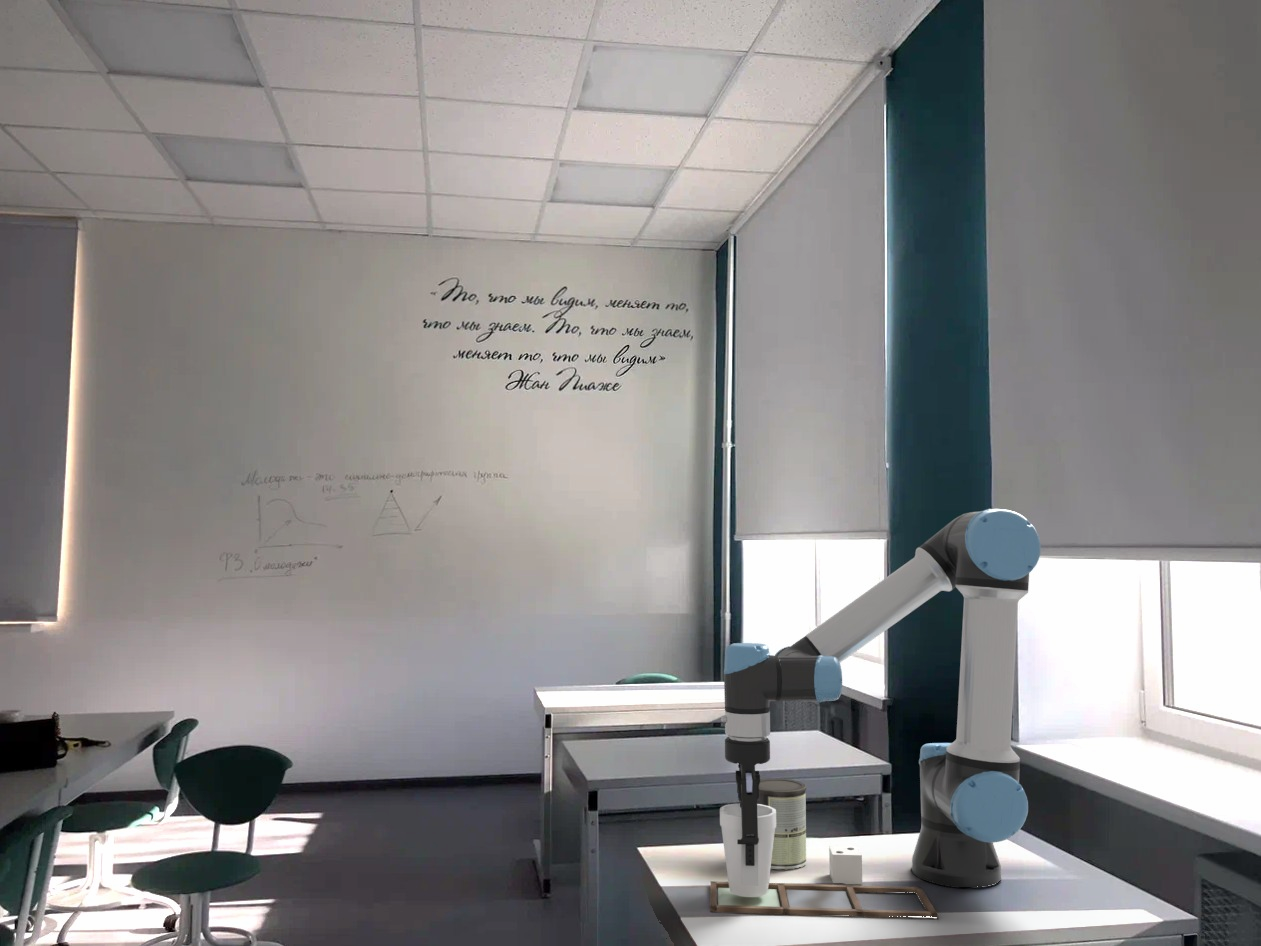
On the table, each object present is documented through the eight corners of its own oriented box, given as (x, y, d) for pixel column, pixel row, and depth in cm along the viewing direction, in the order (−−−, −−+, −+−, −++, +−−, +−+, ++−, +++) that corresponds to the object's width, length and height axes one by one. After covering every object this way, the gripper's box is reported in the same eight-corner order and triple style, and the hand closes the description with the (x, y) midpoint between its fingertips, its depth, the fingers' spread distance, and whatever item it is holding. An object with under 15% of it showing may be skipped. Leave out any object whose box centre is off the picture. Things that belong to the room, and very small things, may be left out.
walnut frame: (920, 892, 167) (920, 887, 167) (937, 919, 155) (937, 913, 155) (710, 886, 170) (710, 881, 170) (710, 912, 157) (710, 906, 157)
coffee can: (742, 864, 182) (741, 786, 183) (764, 850, 190) (763, 776, 192) (795, 874, 176) (794, 793, 178) (815, 858, 185) (814, 782, 186)
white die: (858, 875, 176) (857, 846, 176) (862, 885, 171) (861, 854, 171) (829, 874, 176) (829, 845, 177) (833, 884, 171) (832, 854, 172)
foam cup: (713, 896, 160) (713, 814, 162) (727, 878, 169) (727, 801, 170) (771, 903, 157) (770, 819, 158) (782, 885, 166) (781, 806, 167)
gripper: (723, 725, 177) (724, 854, 175) (725, 749, 155) (727, 897, 153) (766, 726, 176) (767, 855, 174) (774, 750, 154) (775, 898, 152)
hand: (748, 874), depth 163 cm, fingers closed on foam cup, 9 cm apart
